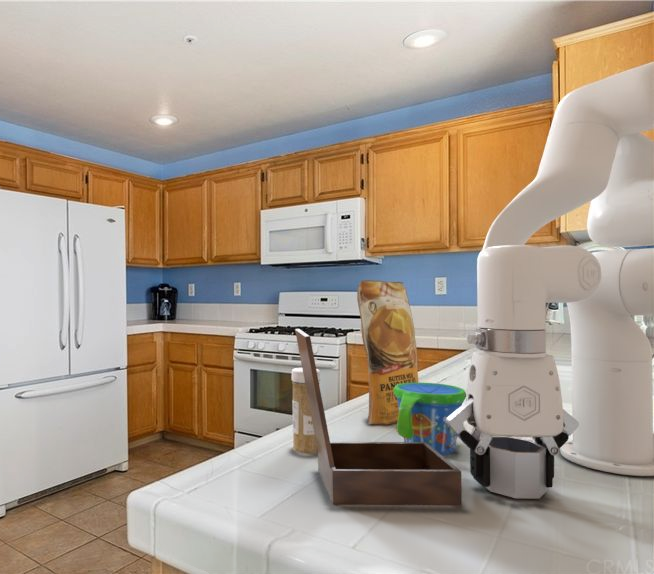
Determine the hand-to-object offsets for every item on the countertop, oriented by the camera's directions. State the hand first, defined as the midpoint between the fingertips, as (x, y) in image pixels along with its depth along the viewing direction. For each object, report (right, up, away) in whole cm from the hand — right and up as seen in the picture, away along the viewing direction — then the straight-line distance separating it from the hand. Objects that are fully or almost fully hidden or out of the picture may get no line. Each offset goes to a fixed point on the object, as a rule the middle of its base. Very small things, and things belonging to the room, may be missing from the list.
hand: (511, 482), depth 62 cm
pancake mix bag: (-2, -2, +38) cm, 38 cm away
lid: (-25, +11, +2) cm, 27 cm away
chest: (-16, -2, +2) cm, 16 cm away
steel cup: (0, -1, 0) cm, 1 cm away
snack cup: (-3, -2, +17) cm, 18 cm away
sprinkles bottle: (-23, -2, +17) cm, 29 cm away
